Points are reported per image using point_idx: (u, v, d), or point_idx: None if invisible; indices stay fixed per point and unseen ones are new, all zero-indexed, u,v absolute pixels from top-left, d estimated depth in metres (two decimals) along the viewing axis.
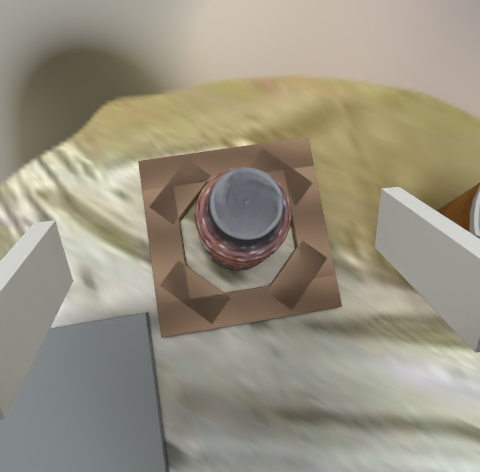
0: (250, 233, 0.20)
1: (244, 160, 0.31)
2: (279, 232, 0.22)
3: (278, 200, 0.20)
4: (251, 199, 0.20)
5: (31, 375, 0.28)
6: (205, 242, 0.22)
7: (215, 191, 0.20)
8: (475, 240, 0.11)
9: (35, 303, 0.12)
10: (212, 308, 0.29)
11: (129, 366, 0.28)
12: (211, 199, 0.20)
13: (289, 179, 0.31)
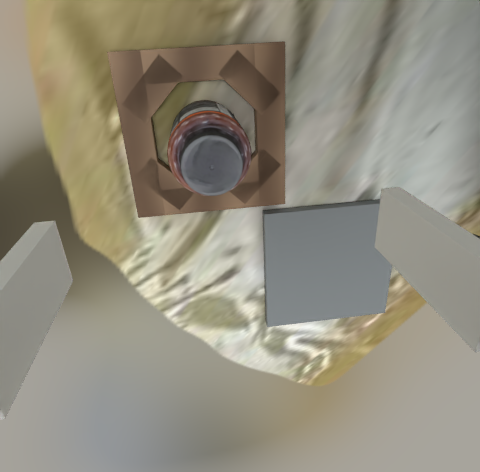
0: (238, 166, 0.24)
1: (135, 124, 0.32)
2: (231, 129, 0.25)
3: (212, 140, 0.23)
4: (210, 162, 0.24)
5: (294, 285, 0.41)
6: None
7: (201, 191, 0.25)
8: (475, 240, 0.11)
9: (35, 303, 0.12)
10: (268, 163, 0.35)
11: (301, 226, 0.38)
12: (207, 194, 0.25)
13: (155, 79, 0.31)
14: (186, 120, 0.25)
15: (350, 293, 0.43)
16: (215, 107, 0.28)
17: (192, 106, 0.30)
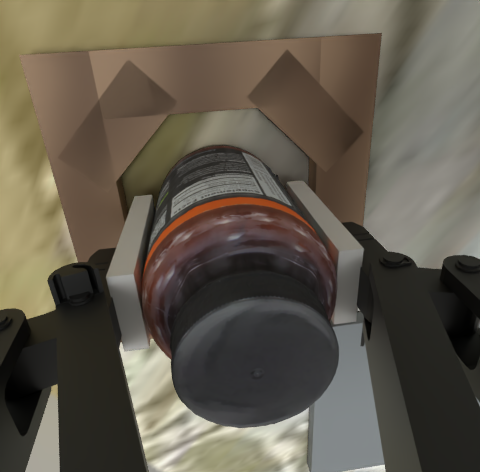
0: (327, 365, 0.09)
1: (87, 193, 0.17)
2: (300, 250, 0.10)
3: (261, 312, 0.08)
4: (253, 364, 0.09)
5: (357, 422, 0.26)
6: None
7: (226, 423, 0.09)
8: (337, 225, 0.13)
9: None
10: None
11: None
12: (242, 427, 0.10)
13: (122, 109, 0.15)
14: (186, 228, 0.10)
15: None
16: (248, 174, 0.13)
17: (197, 166, 0.15)
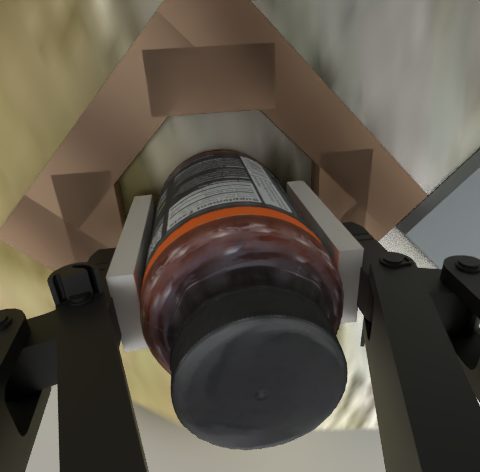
0: (336, 382, 0.08)
1: None
2: (302, 261, 0.10)
3: (262, 332, 0.08)
4: (256, 385, 0.08)
5: None
6: None
7: (232, 446, 0.09)
8: (337, 225, 0.13)
9: None
10: (351, 165, 0.17)
11: None
12: (249, 449, 0.09)
13: (83, 211, 0.16)
14: (181, 243, 0.10)
15: None
16: (246, 180, 0.13)
17: (194, 174, 0.14)
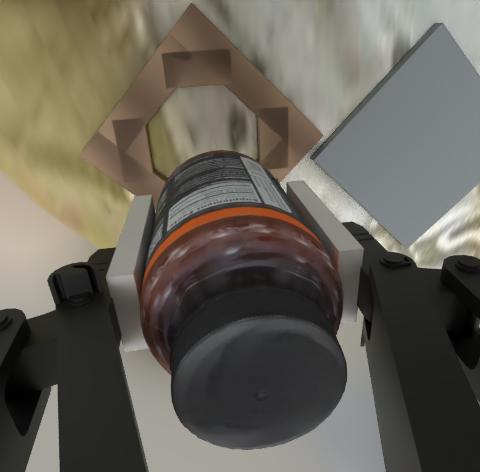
0: (335, 383, 0.08)
1: (147, 187, 0.32)
2: (302, 261, 0.10)
3: (262, 332, 0.08)
4: (256, 385, 0.08)
5: (400, 194, 0.35)
6: None
7: (232, 446, 0.09)
8: (337, 225, 0.13)
9: None
10: (276, 116, 0.30)
11: (357, 139, 0.32)
12: (249, 449, 0.09)
13: (128, 141, 0.30)
14: (182, 243, 0.10)
15: (466, 154, 0.34)
16: (246, 180, 0.13)
17: (194, 174, 0.14)
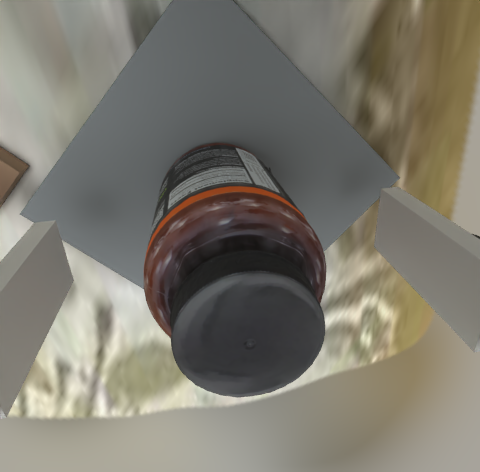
0: (314, 334, 0.10)
1: None
2: (286, 232, 0.11)
3: (249, 285, 0.09)
4: (245, 335, 0.09)
5: None
6: None
7: (225, 392, 0.10)
8: (474, 240, 0.11)
9: (36, 303, 0.12)
10: None
11: (91, 179, 0.19)
12: (240, 396, 0.10)
13: None
14: (181, 216, 0.11)
15: (300, 199, 0.20)
16: (239, 166, 0.14)
17: (193, 162, 0.15)
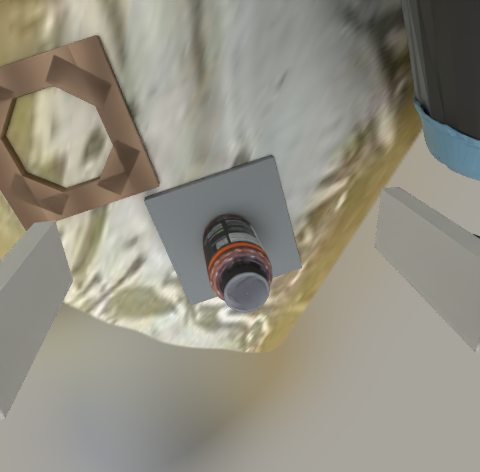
0: (263, 299, 0.32)
1: None
2: (266, 268, 0.34)
3: (257, 277, 0.31)
4: (247, 290, 0.32)
5: (201, 261, 0.43)
6: None
7: (230, 305, 0.32)
8: (475, 240, 0.11)
9: (35, 303, 0.12)
10: (127, 152, 0.36)
11: (184, 203, 0.40)
12: (233, 308, 0.32)
13: None
14: (239, 248, 0.33)
15: None
16: (255, 237, 0.37)
17: (236, 224, 0.38)
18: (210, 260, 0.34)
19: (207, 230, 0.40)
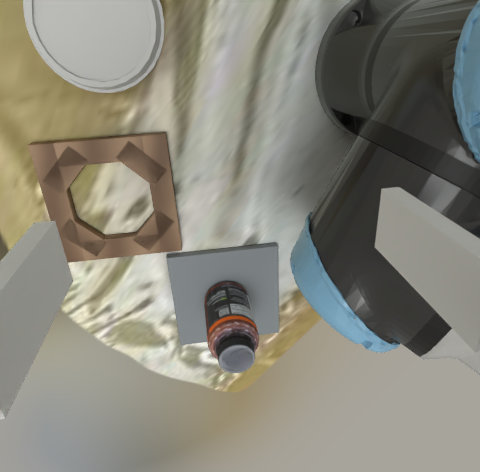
0: (248, 366, 0.41)
1: (54, 195, 0.41)
2: (255, 340, 0.43)
3: (247, 350, 0.40)
4: (237, 358, 0.40)
5: (199, 312, 0.51)
6: None
7: (222, 366, 0.41)
8: (475, 240, 0.11)
9: (35, 303, 0.12)
10: (164, 220, 0.44)
11: (197, 266, 0.48)
12: (223, 369, 0.41)
13: (67, 163, 0.40)
14: (238, 321, 0.42)
15: None
16: (250, 309, 0.46)
17: (237, 295, 0.46)
18: (212, 324, 0.43)
19: (211, 292, 0.48)
